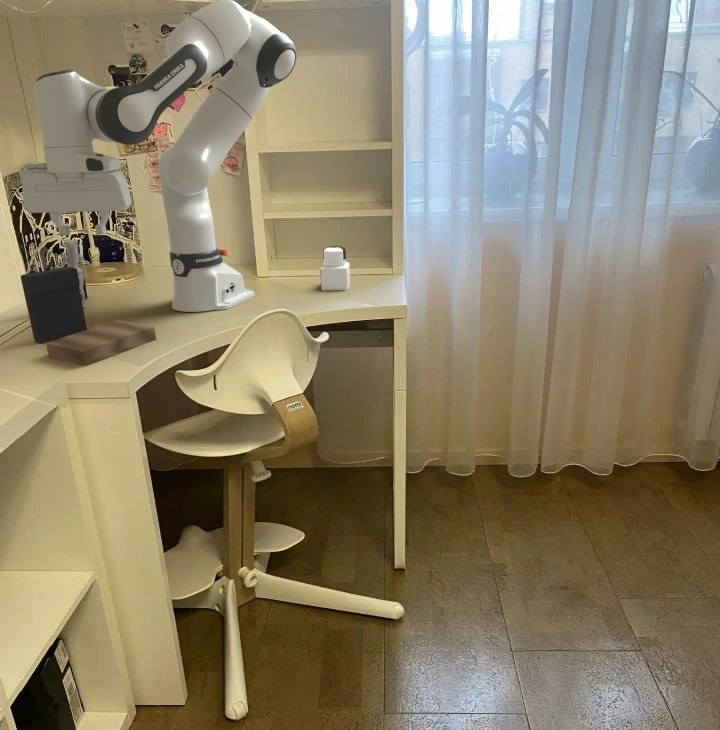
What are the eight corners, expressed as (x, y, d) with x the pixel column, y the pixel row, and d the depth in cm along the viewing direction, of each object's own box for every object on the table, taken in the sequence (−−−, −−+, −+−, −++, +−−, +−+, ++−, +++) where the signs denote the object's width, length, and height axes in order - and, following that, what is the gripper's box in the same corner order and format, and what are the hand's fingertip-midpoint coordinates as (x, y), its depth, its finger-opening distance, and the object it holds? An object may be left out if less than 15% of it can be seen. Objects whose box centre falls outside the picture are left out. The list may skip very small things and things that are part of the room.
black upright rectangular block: (80, 328, 155) (68, 265, 149) (89, 332, 152) (77, 267, 147) (32, 341, 147) (18, 274, 142) (41, 344, 144) (26, 277, 139)
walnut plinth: (119, 332, 151) (117, 319, 150) (156, 339, 145) (154, 326, 144) (48, 356, 136) (45, 342, 135) (86, 365, 130) (83, 351, 129)
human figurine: (100, 303, 176) (88, 235, 169) (108, 306, 173) (96, 237, 167) (56, 314, 167) (42, 243, 161) (63, 316, 165) (49, 244, 158)
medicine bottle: (325, 287, 184) (322, 244, 180) (350, 287, 183) (348, 244, 179) (321, 294, 177) (318, 249, 173) (347, 294, 177) (345, 249, 172)
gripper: (9, 164, 125) (24, 238, 129) (116, 161, 124) (127, 235, 129) (25, 162, 130) (39, 233, 135) (128, 159, 130) (138, 230, 135)
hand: (83, 234), depth 132 cm, fingers open, 6 cm apart
